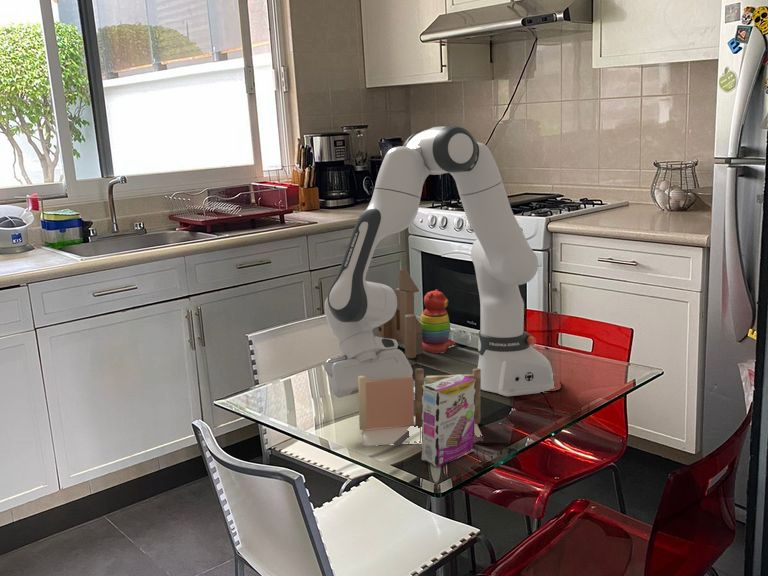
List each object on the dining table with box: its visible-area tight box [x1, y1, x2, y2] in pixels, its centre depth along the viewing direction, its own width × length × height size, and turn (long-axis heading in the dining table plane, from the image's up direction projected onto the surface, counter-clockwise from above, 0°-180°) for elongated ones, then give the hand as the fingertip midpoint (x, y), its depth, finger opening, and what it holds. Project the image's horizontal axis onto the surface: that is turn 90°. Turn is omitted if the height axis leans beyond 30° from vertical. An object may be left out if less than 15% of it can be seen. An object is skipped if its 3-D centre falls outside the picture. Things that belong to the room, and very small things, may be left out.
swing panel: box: [358, 376, 415, 431], centre depth 172 cm, size 12×2×12 cm, turn 102°
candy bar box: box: [421, 373, 476, 468], centre depth 157 cm, size 11×5×16 cm, turn 131°
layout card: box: [362, 415, 483, 448], centre depth 172 cm, size 26×16×1 cm, turn 93°
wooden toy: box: [376, 268, 423, 360], centre depth 229 cm, size 16×7×25 cm, turn 42°
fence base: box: [414, 367, 482, 426], centre depth 174 cm, size 15×2×14 cm, turn 93°
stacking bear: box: [419, 289, 457, 354], centre depth 233 cm, size 11×10×18 cm
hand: (383, 404), depth 174 cm, fingers closed
